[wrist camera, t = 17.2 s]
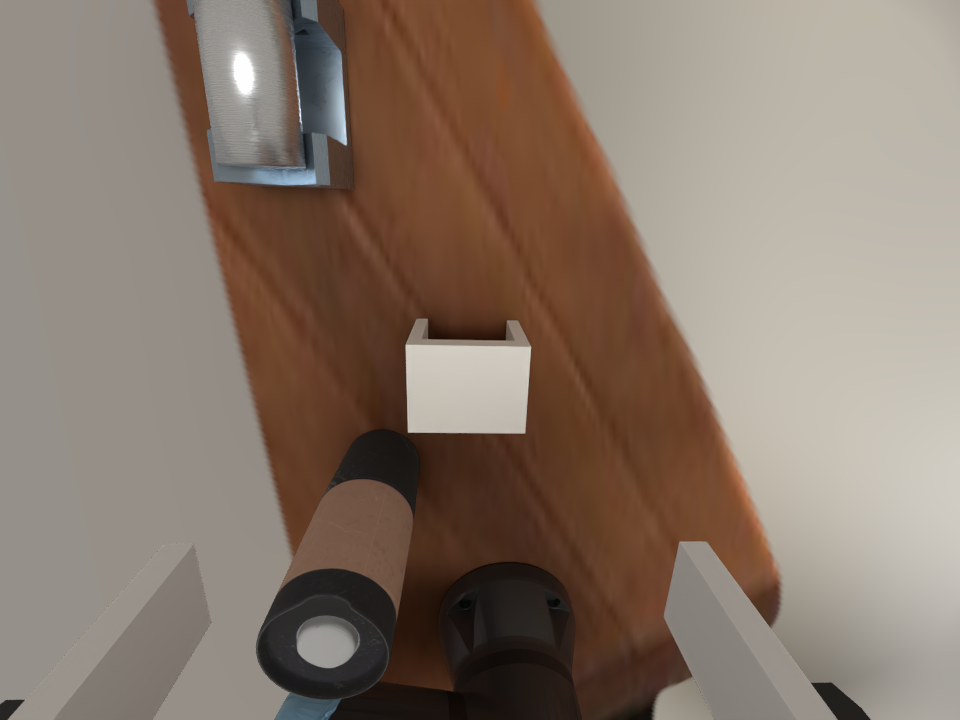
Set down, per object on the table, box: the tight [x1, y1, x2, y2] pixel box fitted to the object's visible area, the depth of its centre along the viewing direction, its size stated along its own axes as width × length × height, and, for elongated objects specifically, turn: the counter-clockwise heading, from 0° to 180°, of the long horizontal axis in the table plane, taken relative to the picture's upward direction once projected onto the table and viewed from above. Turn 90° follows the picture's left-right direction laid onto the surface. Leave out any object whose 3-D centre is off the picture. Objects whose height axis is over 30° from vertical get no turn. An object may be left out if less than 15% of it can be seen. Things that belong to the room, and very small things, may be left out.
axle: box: [192, 0, 306, 170], centre depth 26 cm, size 10×5×5 cm, turn 178°
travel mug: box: [256, 430, 419, 700], centre depth 34 cm, size 8×8×20 cm
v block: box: [187, 0, 354, 190], centre depth 30 cm, size 12×7×8 cm, turn 178°
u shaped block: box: [406, 319, 531, 433], centre depth 37 cm, size 7×9×8 cm
